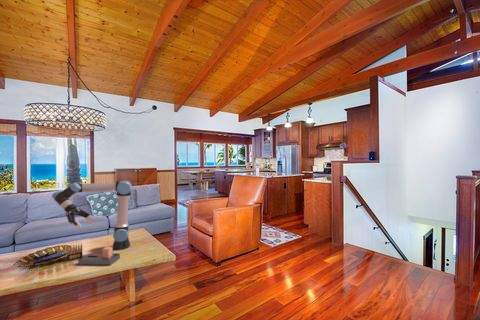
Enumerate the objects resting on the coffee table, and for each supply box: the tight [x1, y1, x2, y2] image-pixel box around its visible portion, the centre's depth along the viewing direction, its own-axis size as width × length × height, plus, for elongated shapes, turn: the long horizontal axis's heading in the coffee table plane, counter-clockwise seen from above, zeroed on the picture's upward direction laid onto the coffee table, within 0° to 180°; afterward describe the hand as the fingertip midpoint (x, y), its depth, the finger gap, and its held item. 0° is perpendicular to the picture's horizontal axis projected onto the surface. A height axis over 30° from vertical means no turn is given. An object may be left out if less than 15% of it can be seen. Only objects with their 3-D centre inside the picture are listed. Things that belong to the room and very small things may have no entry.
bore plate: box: [77, 252, 121, 266], centre depth 180 cm, size 13×26×4 cm, turn 89°
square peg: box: [102, 246, 114, 258], centre depth 180 cm, size 5×5×11 cm
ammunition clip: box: [66, 243, 83, 262], centre depth 185 cm, size 11×2×12 cm, turn 128°
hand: (86, 225), depth 181 cm, fingers open, 13 cm apart
